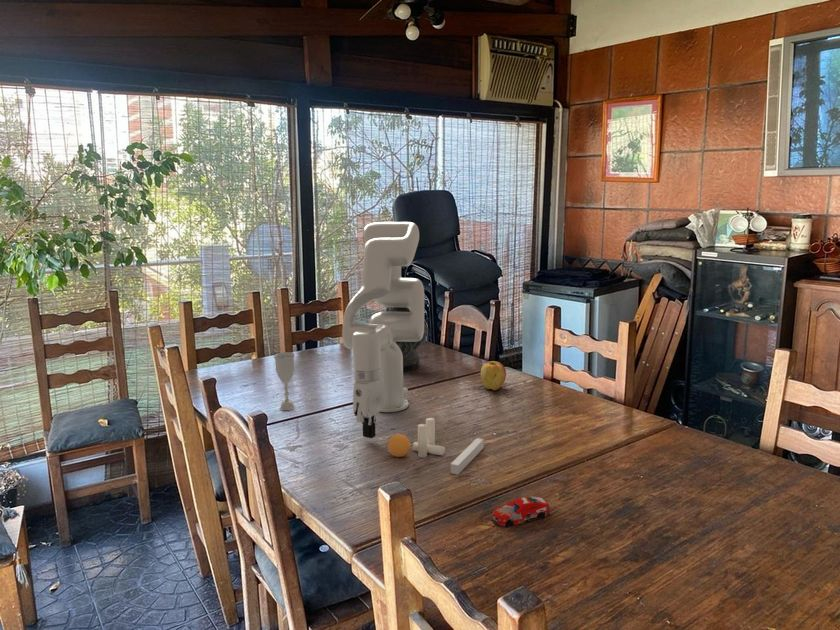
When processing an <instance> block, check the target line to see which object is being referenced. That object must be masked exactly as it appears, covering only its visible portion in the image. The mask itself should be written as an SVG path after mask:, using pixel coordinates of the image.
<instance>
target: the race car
mask: <svg viewBox="0 0 840 630" xmlns="http://www.w3.org/2000/svg"><path fill="white" fill-rule="evenodd" d="M550 513H551V508H550V505H549V502H547V500H545V499H544V498H542V497H539V496H522V497H518V498H516V499H513V500H511V501H509V500H507V503H506V504H504V505H502V506H499V507H497V508H495V509H494V510H493V512H492V521H493V523H495V524H496V525H498V526H501V527H505V528H509V527H513V526H516V525H519V524H524V523H528V522H532V521H537V520H541V519H544V518H546V517H548V516H549V515H550Z"/></svg>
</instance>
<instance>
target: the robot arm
mask: <svg viewBox="0 0 840 630" xmlns="http://www.w3.org/2000/svg"><path fill="white" fill-rule="evenodd" d="M363 238H364V242H365V244H364V247H363V260H362V261H363V263H362V272H361V273H362V275H361V287H360V289H359V290H358V291H357V292H356V294H354V295H353V297H352V298H351V299H350V301H349V302H348V303H347V306H346V308H345V311H344V313H343V321H342V330H341V331H342V332H341V341H342V344H343V346H344V347H345V348H346V349H348V350H352V367H353V369H352V370H353V371H352V372H353V381H354V384H353V394H352V409H353V415H354V416H355V417H356V423H360V424H361V425H362V437H363V438H367V439H374V438H375V437H376V435H377V434H376V422H377V415H378V413H397V412H400V411H404V410H405V409H407V408H409V407H408V406H409V401H408V400H407V399H406V398H404V396H405V394H406V393H408V391H409V389H408V388H407V387H404V372H403V355H402V352H401V349H400V348H399V346H398V345H397V344H396V343H395V342H417V341H420V340H421V339H422V338H423V335H424V320H425V287H424V284H423V282H422V280H420V279H419V278H416V277H415V278H414V277H402V267H408V266H410V265H411V264H412V262H413V260H414V258H415V255H416V252H417V249H418V244H419V241H420V230H419V226H418V225H417V224H416V223H415V222H411V221H376V222H370V223H368V224H367V225H365V226H364V228H363ZM373 301H374V302H375V304H376V305H378V307H382V308H394V307H401V308H409V309H410V312H389V311H380V312H376V313H374V314H373V315H371V317H370V320H369V323H355V320H356V316H357V314H358V312H359V311H360V310H361V309H362V308H363V307H364V306H366V305H367V304H369V303H371V302H373Z"/></svg>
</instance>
